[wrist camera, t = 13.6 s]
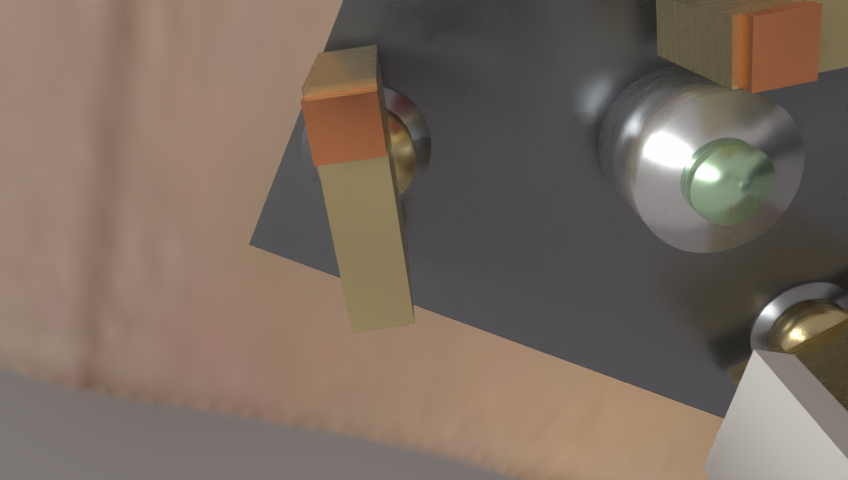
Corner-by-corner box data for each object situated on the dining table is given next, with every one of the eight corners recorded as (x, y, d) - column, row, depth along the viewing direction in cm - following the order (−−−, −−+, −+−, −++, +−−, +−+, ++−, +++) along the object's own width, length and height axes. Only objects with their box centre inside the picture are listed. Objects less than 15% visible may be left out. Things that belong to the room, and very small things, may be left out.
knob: (426, 237, 25) (441, 331, 19) (338, 249, 25) (325, 348, 19) (398, 38, 22) (405, 78, 16) (298, 52, 22) (269, 97, 16)
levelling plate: (1015, 77, 26) (1216, 124, 20) (755, 409, 32) (846, 525, 26) (441, -250, 20) (467, -327, 14) (258, 222, 26) (220, 312, 20)
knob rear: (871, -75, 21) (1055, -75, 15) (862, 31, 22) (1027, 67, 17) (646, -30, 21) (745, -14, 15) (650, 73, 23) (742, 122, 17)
